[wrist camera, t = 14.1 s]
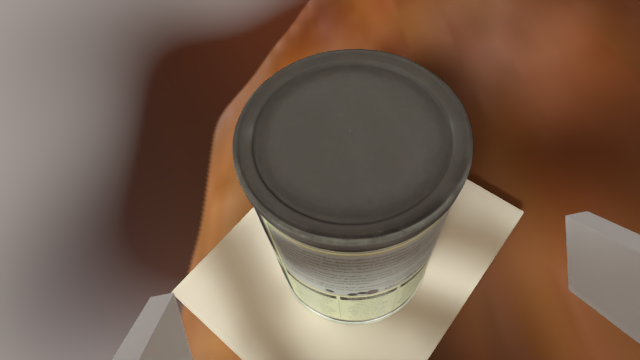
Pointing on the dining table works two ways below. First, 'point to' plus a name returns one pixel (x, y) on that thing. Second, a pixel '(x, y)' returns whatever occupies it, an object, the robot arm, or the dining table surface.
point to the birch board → (329, 337)
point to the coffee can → (353, 176)
